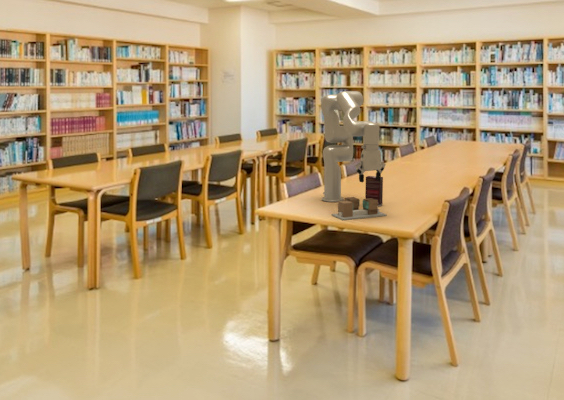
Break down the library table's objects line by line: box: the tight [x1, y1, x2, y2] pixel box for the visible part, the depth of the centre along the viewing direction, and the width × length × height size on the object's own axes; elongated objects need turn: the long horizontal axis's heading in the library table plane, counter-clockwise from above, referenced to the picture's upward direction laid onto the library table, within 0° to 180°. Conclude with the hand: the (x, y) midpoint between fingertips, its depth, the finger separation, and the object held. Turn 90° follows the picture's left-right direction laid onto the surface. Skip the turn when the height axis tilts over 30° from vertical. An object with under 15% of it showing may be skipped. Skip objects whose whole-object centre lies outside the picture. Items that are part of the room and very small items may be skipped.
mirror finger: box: [344, 196, 361, 210], centre depth 306 cm, size 6×6×7 cm
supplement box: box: [364, 175, 384, 207], centre depth 320 cm, size 9×5×16 cm, turn 59°
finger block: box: [362, 198, 379, 215], centre depth 297 cm, size 6×6×7 cm
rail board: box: [331, 200, 388, 221], centre depth 295 cm, size 12×25×8 cm, turn 113°
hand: (369, 181), depth 295 cm, fingers open, 9 cm apart
